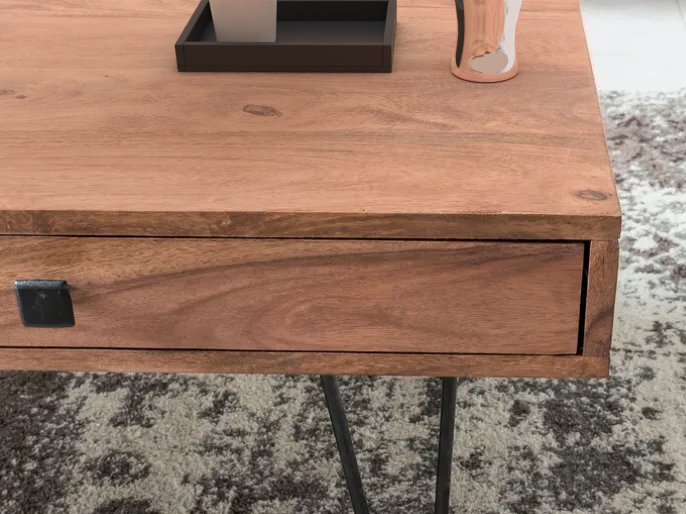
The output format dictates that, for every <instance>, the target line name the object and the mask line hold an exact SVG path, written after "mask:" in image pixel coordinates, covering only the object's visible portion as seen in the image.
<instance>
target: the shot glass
mask: <svg viewBox="0 0 686 514" xmlns="http://www.w3.org/2000/svg"><path fill="white" fill-rule="evenodd" d="M209 2H210V7H211V13H212V18H213V23H214V28H215V33H216V39H217V42H275V39H276V9H277V0H209Z"/></svg>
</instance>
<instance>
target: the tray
mask: <svg viewBox="0 0 686 514" xmlns="http://www.w3.org/2000/svg"><path fill="white" fill-rule="evenodd" d="M397 24H398V0H277V9H276V39H275V42H217V39H216V33H215V28H214V23H213V18H212V13H211V7H210V2H209V0H199V2H198V4H197V6H196V8H195V9H194V11H193V13H192V14H191V16H190V18H189V20H188V21H187V23H186V25H185V26H184V28H183V30H182V31H181V33H180V34H179V36H178V38H177V40H176V42H175V43H174V52H175V61H176V69H177V72H219V73H220V72H226V73H227V72H231V73H232V72H236V73H237V72H239V73H240V72H241V73H243V72H246V73H248V72H253V73H255V72H258V73H260V72H261V73H262V72H263V73H265V72H266V73H267V72H268V73H274V72H275V73H280V72H281V73H304V72H305V73H392V71H393V62H394V53H395V43H396V33H397V26H398V25H397Z"/></svg>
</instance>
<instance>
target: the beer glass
mask: <svg viewBox="0 0 686 514" xmlns="http://www.w3.org/2000/svg"><path fill="white" fill-rule="evenodd" d="M453 2H454V10H455V19H456V36H455V44H454V49H453V53H452V58H451V61H450V63H451V64H450V71H451V73H452V74H453V75H454V76H455V77H457V78H460V79H461V80H465V81H469V82H475V83H498V82H503V81H506V80H509V79H512V78H514V77H515V76H517V74H518V73H519V70H520V69H519V60H518V58H519V57H518V51H517V31H518V25H519V19H520V15H521V10H522V6H523V2H524V0H453Z"/></svg>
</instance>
